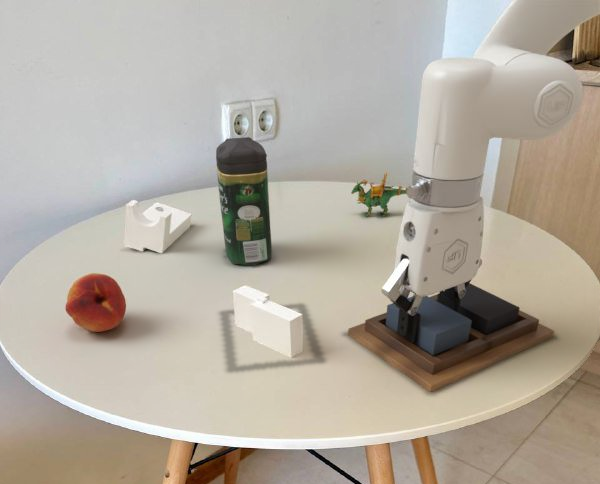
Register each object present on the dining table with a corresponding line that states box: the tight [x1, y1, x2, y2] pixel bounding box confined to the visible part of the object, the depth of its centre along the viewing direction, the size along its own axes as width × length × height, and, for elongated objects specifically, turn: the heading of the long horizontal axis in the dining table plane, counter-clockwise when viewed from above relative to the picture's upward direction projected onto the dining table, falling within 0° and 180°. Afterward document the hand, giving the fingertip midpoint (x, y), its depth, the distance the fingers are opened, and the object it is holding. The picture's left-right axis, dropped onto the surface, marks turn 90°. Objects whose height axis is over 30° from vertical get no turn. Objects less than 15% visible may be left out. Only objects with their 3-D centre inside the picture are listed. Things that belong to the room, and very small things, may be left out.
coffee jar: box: [215, 136, 273, 266], centre depth 96 cm, size 10×8×19 cm
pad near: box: [437, 282, 520, 335], centre depth 80 cm, size 9×6×3 cm, turn 33°
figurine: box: [351, 172, 408, 218], centre depth 114 cm, size 3×12×8 cm, turn 87°
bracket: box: [123, 199, 193, 254], centre depth 106 cm, size 13×7×8 cm, turn 166°
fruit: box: [65, 272, 127, 333], centre depth 80 cm, size 8×8×8 cm
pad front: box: [386, 295, 472, 355], centre depth 75 cm, size 9×6×3 cm, turn 33°
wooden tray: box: [347, 293, 555, 393], centre depth 78 cm, size 16×22×2 cm
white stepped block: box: [232, 284, 304, 359], centre depth 78 cm, size 15×11×6 cm
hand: (426, 329), depth 76 cm, fingers closed on pad front, 5 cm apart
